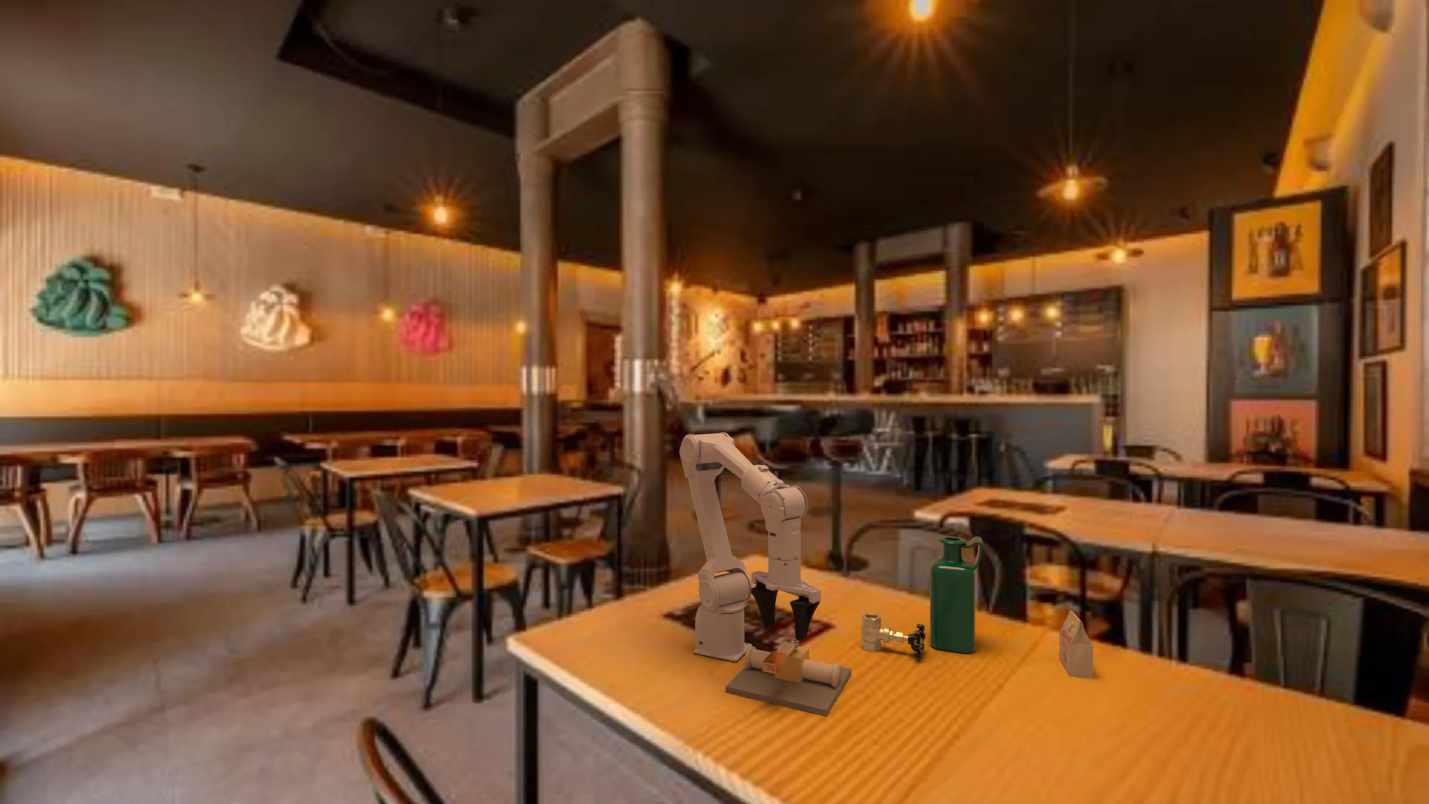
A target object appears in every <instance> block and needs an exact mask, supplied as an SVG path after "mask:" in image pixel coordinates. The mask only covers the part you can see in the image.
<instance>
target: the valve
mask: <svg viewBox="0 0 1429 804" xmlns="http://www.w3.org/2000/svg"><path fill="white" fill-rule="evenodd" d="M861 616H862V617H861V622H862V625H861V627H860V628H861V629H860V634H861V639H862V640H861V641H862V643H861V644H862V648H863V649H864V650H865V651H868V652H874V653H875V652H878V651H880V650H882V641H883V643H886V644H890V643H891V641H893V642H894V640H895V642H899V643H904V642H907V644H908V645H910V649H911V650H913V651H914V657H915V658H918V659H923V657H924V652H923V651H925V640H926V633H925V632H924V631H925V629H926V628H925V627H926V626H925V624H922V623H917V624H916V629H918V630H914V631H912V632H911V633H908V635H905V633H903V632H899V631H896V632H895V631H892V628H891V627H888V626H885V627H882V617H881V616H880V614H878V613H873V612H866V613H864V614H862V615H861Z"/></svg>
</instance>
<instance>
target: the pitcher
mask: <svg viewBox="0 0 1429 804" xmlns="http://www.w3.org/2000/svg"><path fill="white" fill-rule="evenodd" d="M938 542H940V543H941V544H942V547H943V549H942V556H937V557H934V558H933V559H932V561H931V564H930V568H929V644H930V646H931V647H932V648H934V649H937V650H940V651H947V652H948V651H949V652H953V653H959V654H962V653H963V654H972V653H974V652H975V651H976V570H977V568H978V567H979V565H980V564H981V559H982V553H983V539H982V537H980V536H974V537H972V538H971V539H970V540H966V539H965V538H962V537H957V536H948V535H947V536H941V537H939V538H938ZM976 545H978V548H977V554H976V557H975V558H974V560H972V561H971V560H969V559H966V558H963V549H970V548H973V547H974V546H976Z"/></svg>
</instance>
